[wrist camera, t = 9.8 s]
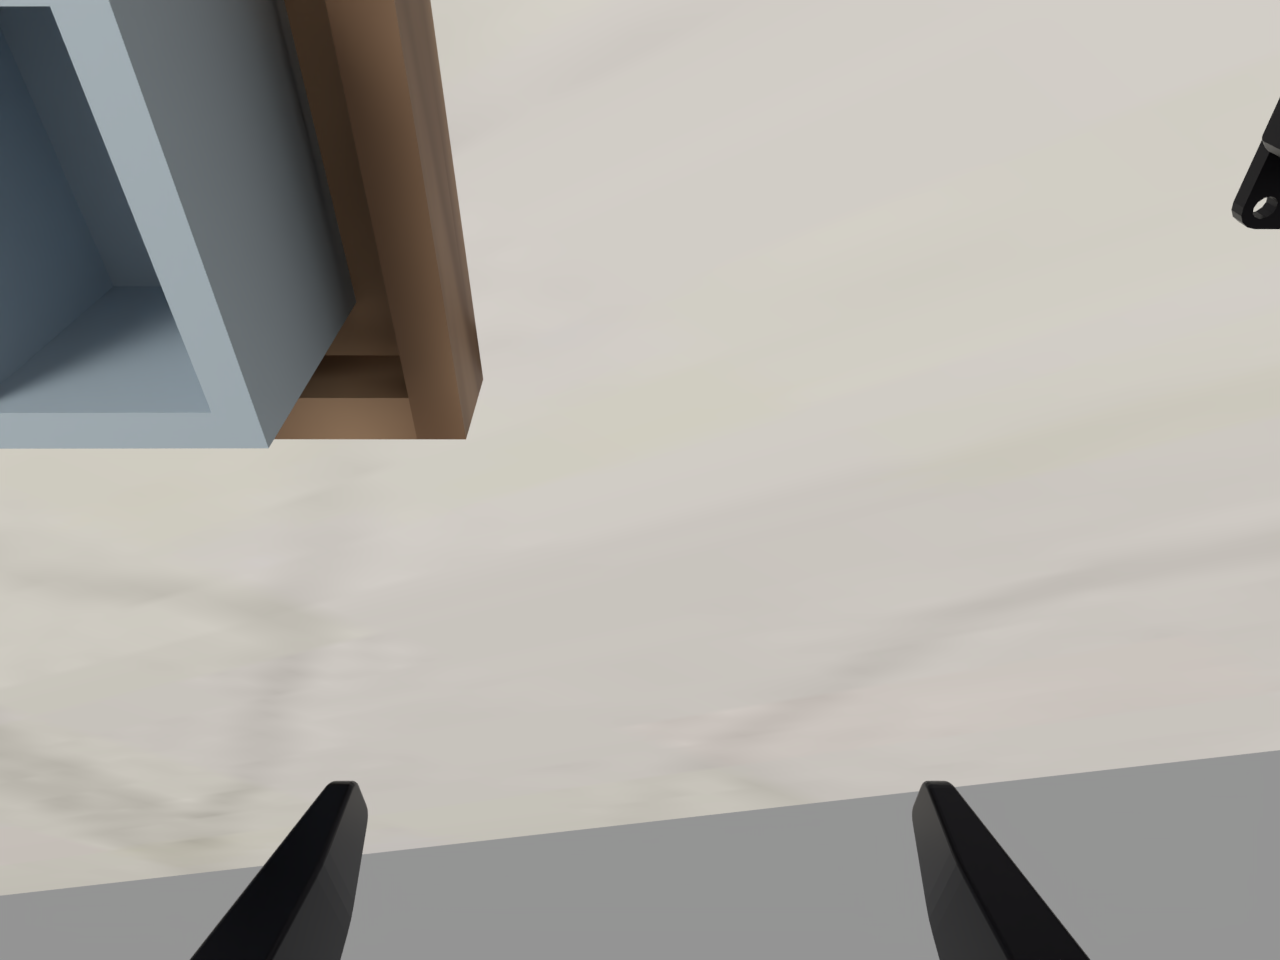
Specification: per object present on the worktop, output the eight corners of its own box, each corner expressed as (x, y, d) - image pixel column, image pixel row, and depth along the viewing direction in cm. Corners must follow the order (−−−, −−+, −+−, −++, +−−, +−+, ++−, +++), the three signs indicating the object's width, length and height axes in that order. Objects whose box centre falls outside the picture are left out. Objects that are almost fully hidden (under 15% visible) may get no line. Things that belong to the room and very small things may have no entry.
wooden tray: (388, -301, 14) (341, -325, 12) (483, 379, 22) (465, 439, 20) (-285, -301, 14) (-460, -325, 12) (64, 378, 22) (1, 438, 20)
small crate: (260, -100, 15) (84, -67, 10) (356, 302, 20) (268, 448, 15) (-69, -99, 15) (-396, -67, 10) (110, 302, 20) (-53, 448, 15)
